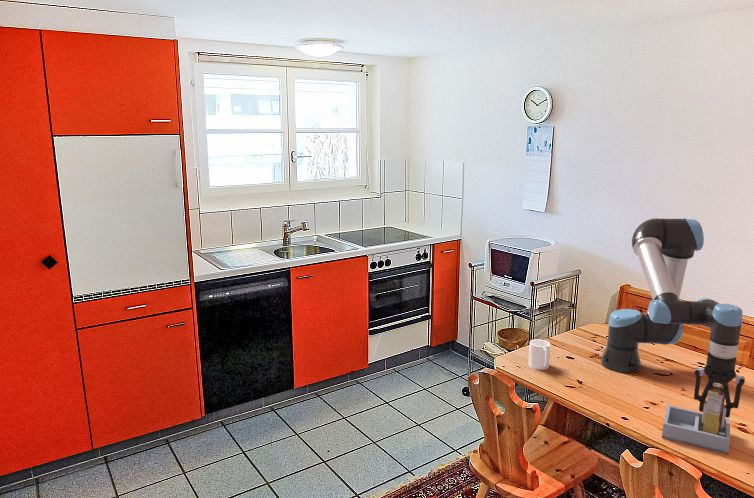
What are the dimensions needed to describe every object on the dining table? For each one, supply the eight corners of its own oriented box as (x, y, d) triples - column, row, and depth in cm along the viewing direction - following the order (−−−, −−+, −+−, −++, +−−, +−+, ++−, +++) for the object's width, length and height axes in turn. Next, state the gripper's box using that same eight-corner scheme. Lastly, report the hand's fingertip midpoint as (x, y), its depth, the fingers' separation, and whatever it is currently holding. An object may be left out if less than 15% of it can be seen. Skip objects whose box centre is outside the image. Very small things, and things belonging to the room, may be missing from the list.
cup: (535, 374, 222) (537, 351, 220) (525, 361, 234) (526, 339, 232) (555, 373, 223) (557, 350, 220) (544, 361, 234) (546, 338, 232)
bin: (661, 437, 176) (663, 423, 175) (665, 418, 188) (667, 404, 187) (727, 454, 167) (730, 439, 166) (727, 432, 179) (729, 418, 178)
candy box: (705, 423, 180) (712, 381, 176) (720, 428, 177) (728, 385, 173) (700, 435, 173) (707, 391, 169) (716, 440, 170) (724, 396, 167)
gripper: (688, 352, 170) (680, 421, 176) (757, 365, 161) (746, 436, 167) (690, 344, 177) (681, 410, 182) (756, 356, 168) (745, 425, 173)
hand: (712, 423), depth 174 cm, fingers closed on candy box, 4 cm apart
